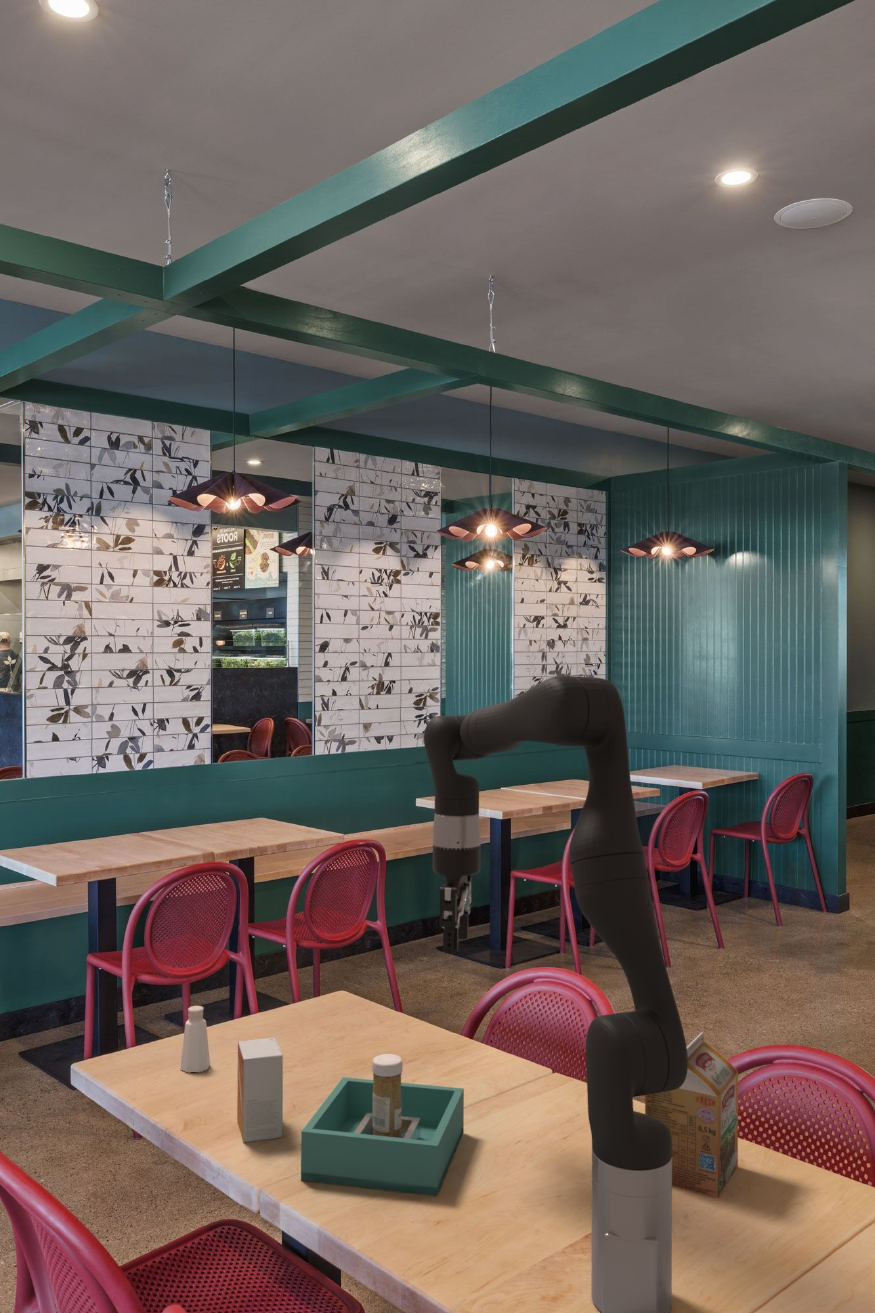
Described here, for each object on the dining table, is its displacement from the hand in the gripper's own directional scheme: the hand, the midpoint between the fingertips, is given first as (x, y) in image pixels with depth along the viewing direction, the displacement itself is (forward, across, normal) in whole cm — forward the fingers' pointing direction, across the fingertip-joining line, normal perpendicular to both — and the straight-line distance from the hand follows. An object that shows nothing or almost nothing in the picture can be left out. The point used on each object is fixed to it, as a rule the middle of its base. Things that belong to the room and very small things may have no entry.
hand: (456, 945), depth 160 cm
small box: (+30, -4, +31) cm, 44 cm away
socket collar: (+29, -8, +9) cm, 31 cm away
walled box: (+30, -8, +9) cm, 32 cm away
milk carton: (+30, -3, -36) cm, 47 cm away
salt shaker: (+30, +17, +52) cm, 63 cm away
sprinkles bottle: (+29, -8, +9) cm, 31 cm away
